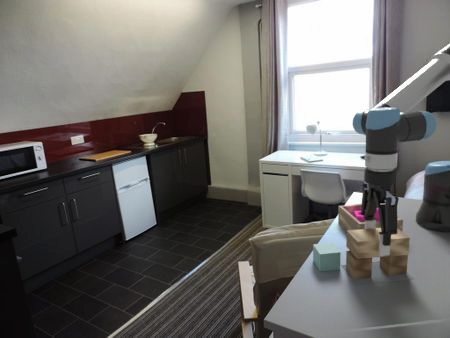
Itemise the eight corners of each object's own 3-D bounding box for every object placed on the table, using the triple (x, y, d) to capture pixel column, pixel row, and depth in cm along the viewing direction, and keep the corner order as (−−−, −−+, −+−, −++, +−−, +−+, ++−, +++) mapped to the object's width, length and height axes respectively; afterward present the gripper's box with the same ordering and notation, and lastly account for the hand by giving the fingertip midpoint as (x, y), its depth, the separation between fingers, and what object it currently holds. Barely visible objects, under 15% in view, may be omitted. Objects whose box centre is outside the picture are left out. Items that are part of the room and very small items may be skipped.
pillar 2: (396, 264, 94) (397, 245, 93) (406, 273, 89) (407, 254, 88) (379, 266, 94) (380, 247, 92) (389, 275, 89) (390, 256, 87)
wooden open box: (375, 219, 126) (376, 202, 124) (401, 238, 109) (403, 219, 107) (338, 222, 125) (338, 205, 123) (358, 243, 108) (359, 223, 107)
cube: (332, 260, 100) (332, 242, 98) (340, 270, 94) (340, 252, 92) (313, 262, 99) (313, 244, 98) (320, 272, 94) (320, 254, 92)
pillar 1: (362, 267, 94) (363, 249, 92) (371, 277, 89) (372, 258, 87) (345, 269, 93) (346, 250, 92) (353, 279, 89) (354, 259, 87)
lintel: (393, 242, 93) (394, 226, 92) (408, 254, 86) (409, 237, 85) (346, 246, 93) (346, 230, 92) (357, 258, 86) (357, 241, 85)
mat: (392, 260, 97) (392, 259, 96) (413, 280, 87) (414, 278, 87) (340, 266, 96) (340, 265, 96) (356, 286, 86) (356, 285, 86)
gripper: (349, 161, 93) (347, 233, 99) (387, 179, 74) (382, 268, 80) (374, 158, 94) (371, 231, 99) (419, 176, 74) (411, 265, 80)
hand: (376, 247), depth 89 cm, fingers closed on lintel, 7 cm apart
